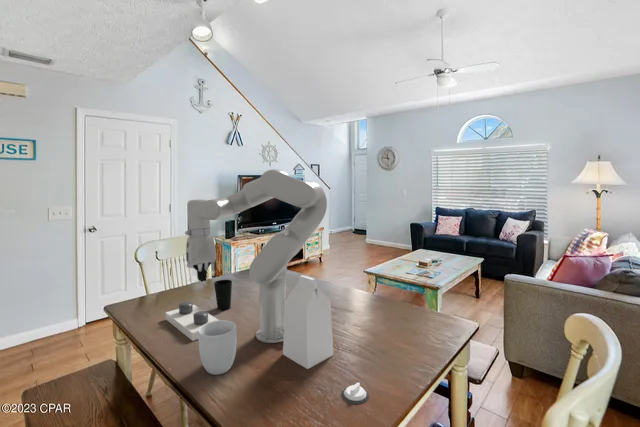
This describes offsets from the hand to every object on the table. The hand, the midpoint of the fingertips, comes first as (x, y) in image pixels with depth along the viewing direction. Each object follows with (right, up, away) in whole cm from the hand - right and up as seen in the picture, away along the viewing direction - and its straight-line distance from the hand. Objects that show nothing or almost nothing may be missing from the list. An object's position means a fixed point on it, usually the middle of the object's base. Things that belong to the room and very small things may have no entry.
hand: (202, 280), depth 125 cm
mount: (-6, -19, +6) cm, 21 cm away
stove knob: (+54, -24, -37) cm, 70 cm away
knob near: (-1, -19, +1) cm, 19 cm away
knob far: (-11, -18, +11) cm, 24 cm away
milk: (+41, -21, -17) cm, 49 cm away
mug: (+14, -22, -23) cm, 35 cm away
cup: (+2, -17, +23) cm, 29 cm away
